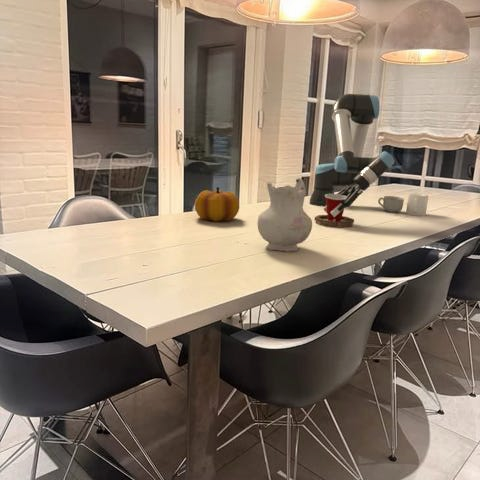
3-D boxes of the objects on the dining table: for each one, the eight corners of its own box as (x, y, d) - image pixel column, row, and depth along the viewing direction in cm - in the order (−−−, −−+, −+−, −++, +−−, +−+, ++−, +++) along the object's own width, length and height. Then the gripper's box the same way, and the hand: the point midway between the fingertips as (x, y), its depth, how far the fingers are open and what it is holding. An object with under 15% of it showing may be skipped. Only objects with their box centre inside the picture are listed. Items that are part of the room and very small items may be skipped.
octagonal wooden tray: (309, 220, 227) (309, 213, 226) (340, 219, 233) (341, 212, 232) (326, 228, 212) (327, 220, 211) (359, 227, 217) (360, 219, 216)
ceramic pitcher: (270, 240, 188) (269, 177, 183) (319, 243, 181) (319, 177, 175) (250, 253, 168) (248, 182, 163) (304, 257, 161) (304, 183, 156)
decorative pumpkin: (248, 222, 217) (250, 189, 214) (205, 225, 206) (206, 190, 202) (226, 214, 234) (228, 183, 230) (185, 216, 222) (186, 184, 219)
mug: (423, 217, 251) (426, 197, 249) (403, 215, 255) (406, 195, 253) (426, 213, 263) (429, 194, 260) (407, 211, 267) (409, 192, 265)
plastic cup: (326, 223, 216) (329, 197, 213) (319, 218, 226) (321, 193, 223) (349, 223, 218) (352, 197, 215) (341, 219, 228) (343, 194, 225)
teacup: (400, 210, 269) (401, 196, 267) (404, 214, 259) (406, 199, 257) (374, 209, 271) (376, 195, 269) (378, 212, 260) (380, 197, 258)
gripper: (380, 188, 210) (342, 223, 211) (359, 182, 231) (325, 214, 232) (370, 176, 208) (331, 211, 209) (350, 170, 229) (316, 203, 230)
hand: (328, 212), depth 221 cm, fingers closed on plastic cup, 9 cm apart
